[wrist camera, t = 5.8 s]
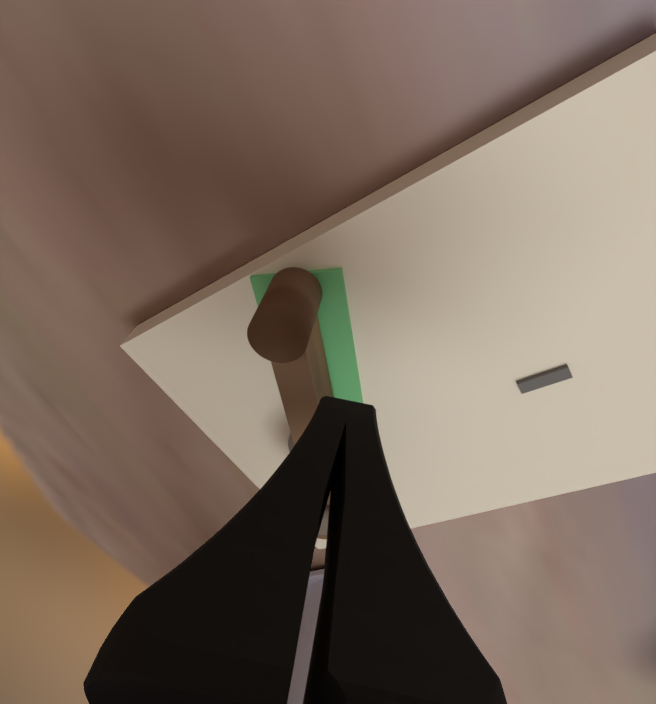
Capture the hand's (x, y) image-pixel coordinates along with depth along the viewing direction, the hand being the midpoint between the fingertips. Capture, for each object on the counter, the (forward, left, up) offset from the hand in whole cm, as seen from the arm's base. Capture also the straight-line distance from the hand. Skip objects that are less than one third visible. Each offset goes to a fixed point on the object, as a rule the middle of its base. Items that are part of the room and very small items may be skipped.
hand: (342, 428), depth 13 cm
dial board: (-4, -1, -7) cm, 8 cm away
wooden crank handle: (-2, +3, -5) cm, 6 cm away
